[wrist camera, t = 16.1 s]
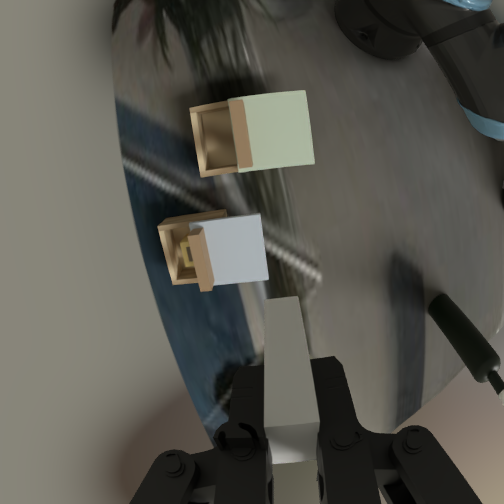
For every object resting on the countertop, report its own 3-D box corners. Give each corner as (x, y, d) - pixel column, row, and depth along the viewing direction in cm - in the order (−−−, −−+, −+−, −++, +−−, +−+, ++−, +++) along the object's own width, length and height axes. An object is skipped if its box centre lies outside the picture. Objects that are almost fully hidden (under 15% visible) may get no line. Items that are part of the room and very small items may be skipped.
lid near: (228, 99, 33) (224, 95, 30) (304, 91, 32) (308, 86, 29) (239, 171, 37) (236, 175, 33) (313, 163, 36) (319, 166, 33)
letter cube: (186, 233, 45) (179, 242, 42) (210, 230, 45) (205, 239, 41) (191, 256, 47) (185, 267, 43) (214, 253, 46) (210, 264, 43)
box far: (166, 217, 45) (157, 226, 41) (225, 209, 44) (222, 216, 40) (179, 272, 49) (173, 284, 45) (235, 266, 48) (233, 279, 44)
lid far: (190, 222, 40) (183, 230, 36) (260, 212, 39) (259, 220, 36) (204, 283, 44) (199, 296, 40) (268, 277, 43) (268, 289, 39)
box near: (196, 110, 38) (189, 108, 34) (263, 99, 37) (263, 95, 33) (206, 173, 42) (200, 177, 38) (272, 164, 41) (273, 167, 37)
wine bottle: (431, 296, 49) (508, 401, 22) (451, 292, 49) (530, 387, 21) (426, 318, 51) (492, 423, 24) (446, 314, 51) (514, 410, 23)
